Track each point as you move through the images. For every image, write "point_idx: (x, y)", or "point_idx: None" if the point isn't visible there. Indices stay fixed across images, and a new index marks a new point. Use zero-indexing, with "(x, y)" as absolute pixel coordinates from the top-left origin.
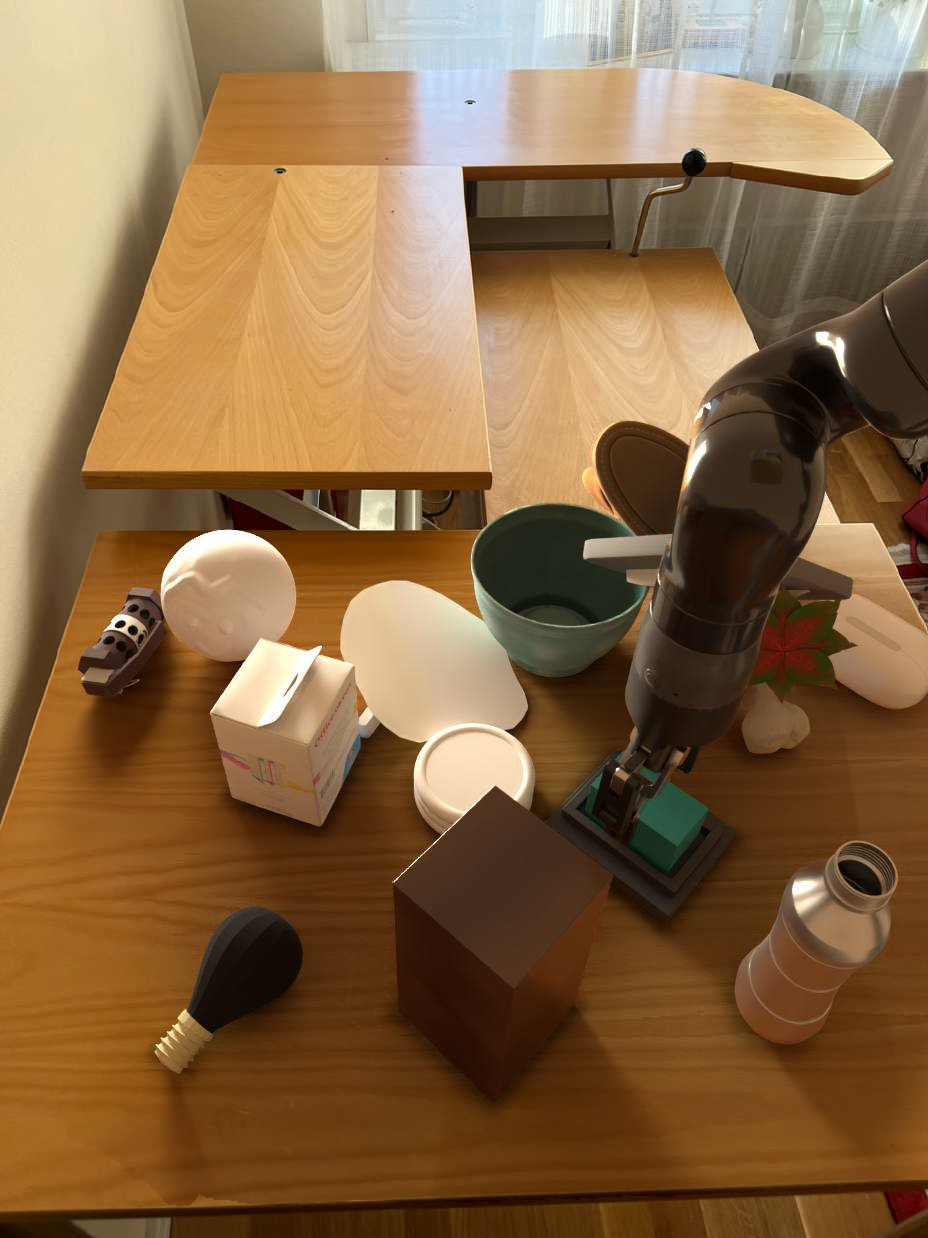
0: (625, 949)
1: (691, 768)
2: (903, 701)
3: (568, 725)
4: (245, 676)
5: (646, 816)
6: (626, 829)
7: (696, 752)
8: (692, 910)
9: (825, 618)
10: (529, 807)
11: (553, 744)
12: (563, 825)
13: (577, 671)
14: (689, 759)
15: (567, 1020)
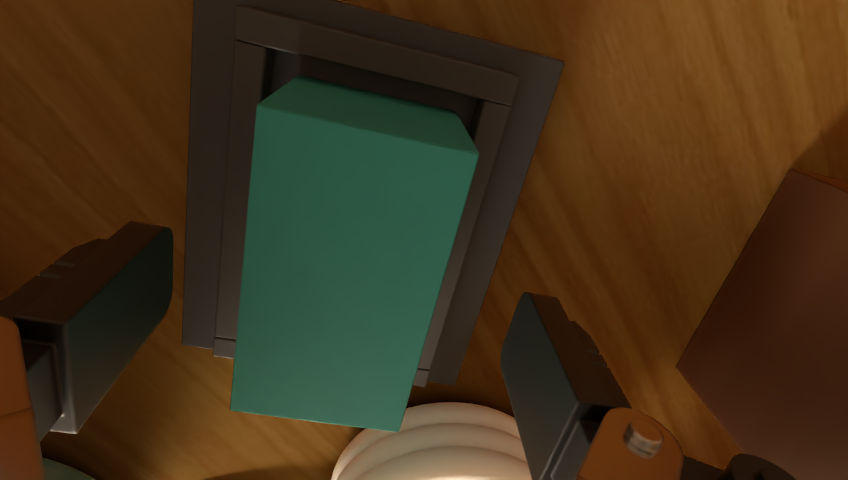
0: (640, 119)
1: (150, 241)
2: None
3: (188, 417)
4: None
5: (416, 279)
6: (771, 474)
7: (88, 304)
8: (480, 4)
9: None
10: (429, 411)
11: (252, 420)
12: (444, 356)
13: (53, 468)
14: (129, 282)
15: (824, 166)
